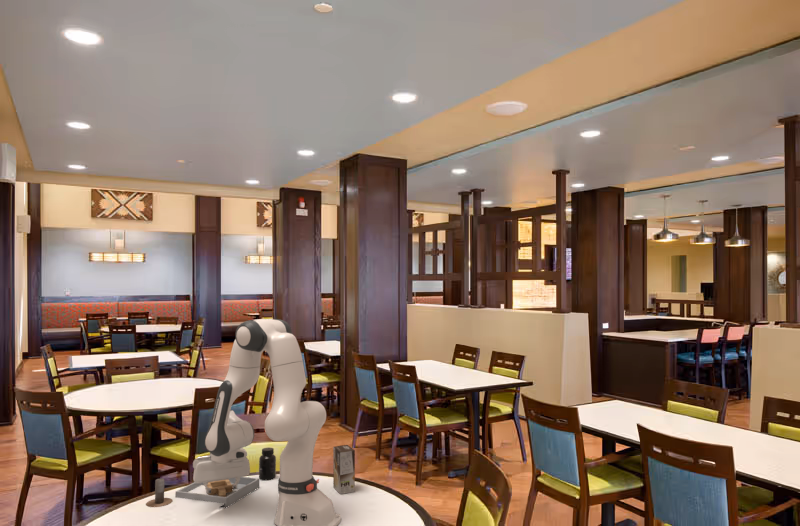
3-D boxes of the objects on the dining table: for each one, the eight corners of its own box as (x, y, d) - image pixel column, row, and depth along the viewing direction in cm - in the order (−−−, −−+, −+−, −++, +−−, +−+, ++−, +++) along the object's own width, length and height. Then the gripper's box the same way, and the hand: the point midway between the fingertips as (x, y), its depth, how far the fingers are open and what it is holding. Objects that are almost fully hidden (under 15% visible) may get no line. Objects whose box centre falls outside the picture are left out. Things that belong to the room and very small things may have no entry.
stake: (178, 503, 202) (178, 477, 202) (160, 512, 193) (161, 485, 194) (158, 500, 205) (158, 474, 205) (139, 509, 196) (140, 482, 197)
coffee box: (355, 492, 213) (355, 450, 214) (339, 494, 211) (340, 452, 212) (347, 484, 222) (347, 444, 223) (332, 487, 219) (332, 446, 220)
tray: (259, 487, 218) (259, 478, 219) (226, 508, 198) (226, 498, 198) (212, 481, 225) (212, 473, 225) (175, 501, 204) (175, 491, 204)
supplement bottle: (255, 479, 228) (256, 450, 228) (264, 474, 234) (264, 446, 235) (270, 481, 226) (270, 451, 226) (278, 476, 232) (279, 447, 233)
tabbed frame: (234, 497, 206) (234, 489, 206) (210, 501, 202) (210, 492, 202) (228, 486, 217) (228, 479, 217) (205, 490, 213) (205, 482, 213)
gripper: (194, 459, 199) (193, 498, 198) (251, 452, 209) (250, 489, 208) (192, 455, 205) (191, 493, 204) (247, 448, 214) (247, 484, 213)
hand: (221, 491), depth 206 cm, fingers open, 8 cm apart
